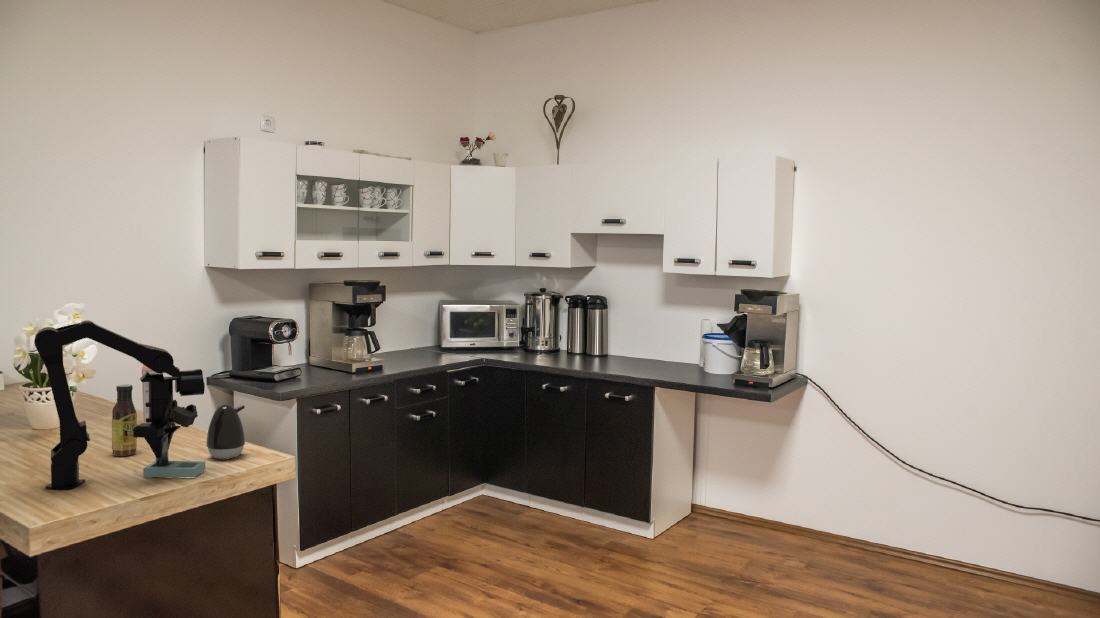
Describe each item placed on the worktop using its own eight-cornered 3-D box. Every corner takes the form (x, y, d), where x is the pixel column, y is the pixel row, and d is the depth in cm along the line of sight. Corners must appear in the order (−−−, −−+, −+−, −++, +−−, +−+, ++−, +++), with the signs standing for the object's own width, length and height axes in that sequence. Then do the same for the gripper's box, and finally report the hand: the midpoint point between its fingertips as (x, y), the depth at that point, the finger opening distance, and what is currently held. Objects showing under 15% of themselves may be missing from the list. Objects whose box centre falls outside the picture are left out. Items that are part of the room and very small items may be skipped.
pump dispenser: (251, 458, 225) (251, 405, 223) (213, 464, 218) (213, 409, 217) (238, 450, 232) (238, 399, 231) (201, 455, 226) (200, 403, 224)
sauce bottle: (126, 458, 221) (124, 388, 220) (106, 456, 223) (105, 386, 221) (142, 452, 228) (141, 384, 226) (123, 450, 229) (122, 382, 227)
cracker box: (144, 423, 262) (143, 360, 260) (164, 422, 265) (163, 360, 263) (142, 433, 249) (141, 367, 248) (163, 431, 252) (162, 366, 250)
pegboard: (194, 478, 205) (194, 468, 204) (143, 477, 204) (143, 468, 204) (205, 470, 212) (205, 461, 211) (156, 469, 211) (156, 460, 211)
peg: (165, 466, 206) (164, 436, 206) (153, 466, 206) (153, 435, 205) (170, 463, 209) (170, 433, 209) (159, 462, 209) (158, 433, 208)
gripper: (176, 405, 197) (177, 467, 198) (206, 391, 216) (207, 447, 217) (131, 404, 197) (132, 466, 198) (165, 390, 215) (166, 446, 217)
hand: (161, 456), depth 207 cm, fingers closed on peg, 3 cm apart
